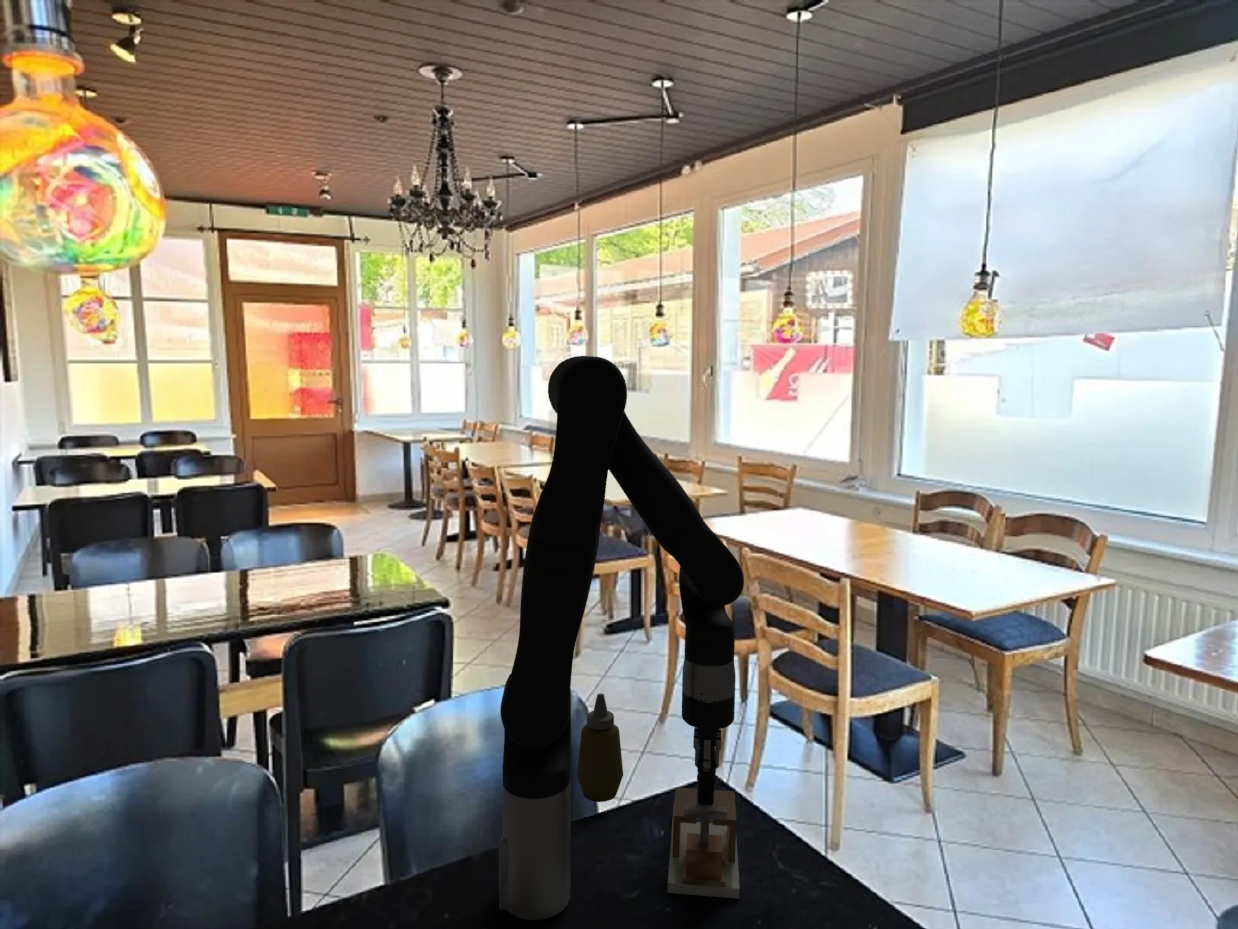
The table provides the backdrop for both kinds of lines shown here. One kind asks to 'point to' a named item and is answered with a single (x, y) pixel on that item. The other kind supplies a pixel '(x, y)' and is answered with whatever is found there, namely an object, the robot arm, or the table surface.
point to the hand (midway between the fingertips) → (705, 802)
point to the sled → (704, 849)
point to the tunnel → (716, 827)
